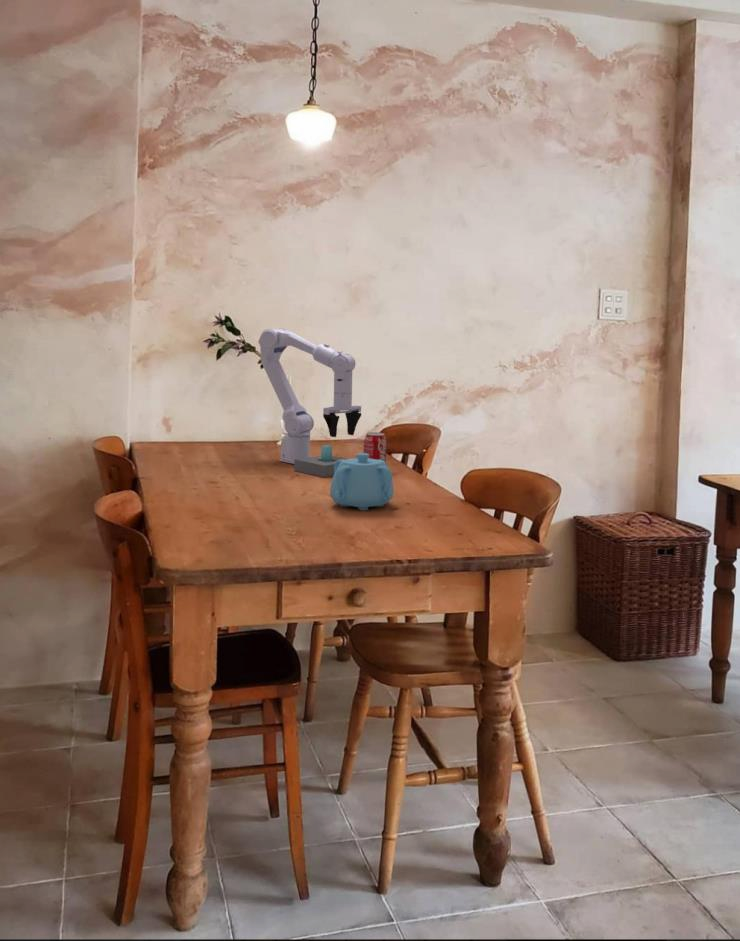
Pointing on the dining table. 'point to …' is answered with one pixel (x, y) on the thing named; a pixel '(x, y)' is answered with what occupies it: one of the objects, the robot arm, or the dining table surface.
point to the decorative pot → (362, 482)
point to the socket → (316, 466)
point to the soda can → (375, 445)
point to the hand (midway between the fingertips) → (341, 435)
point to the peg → (326, 453)
